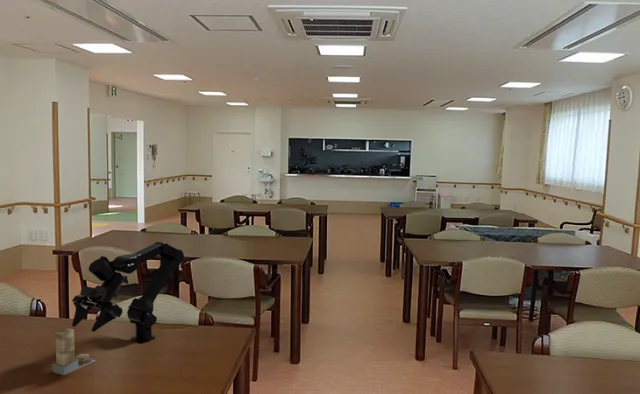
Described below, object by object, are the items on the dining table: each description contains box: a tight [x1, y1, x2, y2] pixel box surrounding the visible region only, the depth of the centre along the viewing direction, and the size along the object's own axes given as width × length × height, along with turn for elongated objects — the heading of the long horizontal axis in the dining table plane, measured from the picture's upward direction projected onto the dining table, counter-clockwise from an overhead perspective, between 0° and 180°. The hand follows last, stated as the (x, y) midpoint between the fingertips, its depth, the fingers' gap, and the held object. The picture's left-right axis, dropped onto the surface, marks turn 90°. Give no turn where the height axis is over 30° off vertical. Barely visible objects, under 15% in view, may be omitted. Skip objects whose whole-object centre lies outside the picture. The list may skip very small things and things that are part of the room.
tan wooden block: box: [54, 327, 76, 367], centre depth 153 cm, size 4×3×13 cm
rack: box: [52, 358, 97, 376], centre depth 157 cm, size 12×5×4 cm, turn 155°
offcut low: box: [75, 356, 93, 367], centre depth 159 cm, size 4×4×1 cm
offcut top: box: [75, 353, 90, 361], centre depth 159 cm, size 3×3×1 cm
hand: (82, 328), depth 159 cm, fingers open, 9 cm apart
